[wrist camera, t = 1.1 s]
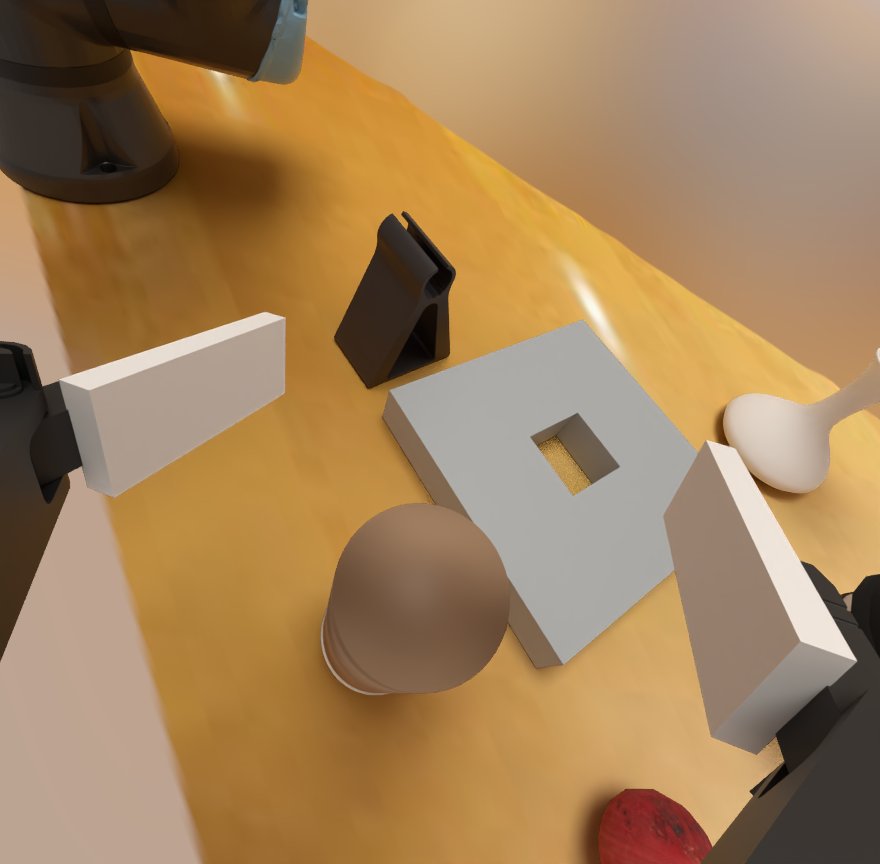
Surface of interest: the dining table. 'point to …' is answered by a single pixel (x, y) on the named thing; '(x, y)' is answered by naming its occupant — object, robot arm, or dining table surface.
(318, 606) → the dining table surface
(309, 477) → the dining table surface
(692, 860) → the onion
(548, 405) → the slate board
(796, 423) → the flower in vase
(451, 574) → the walnut peg
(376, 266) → the phone stand
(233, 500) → the dining table surface
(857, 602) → the coffee cup
